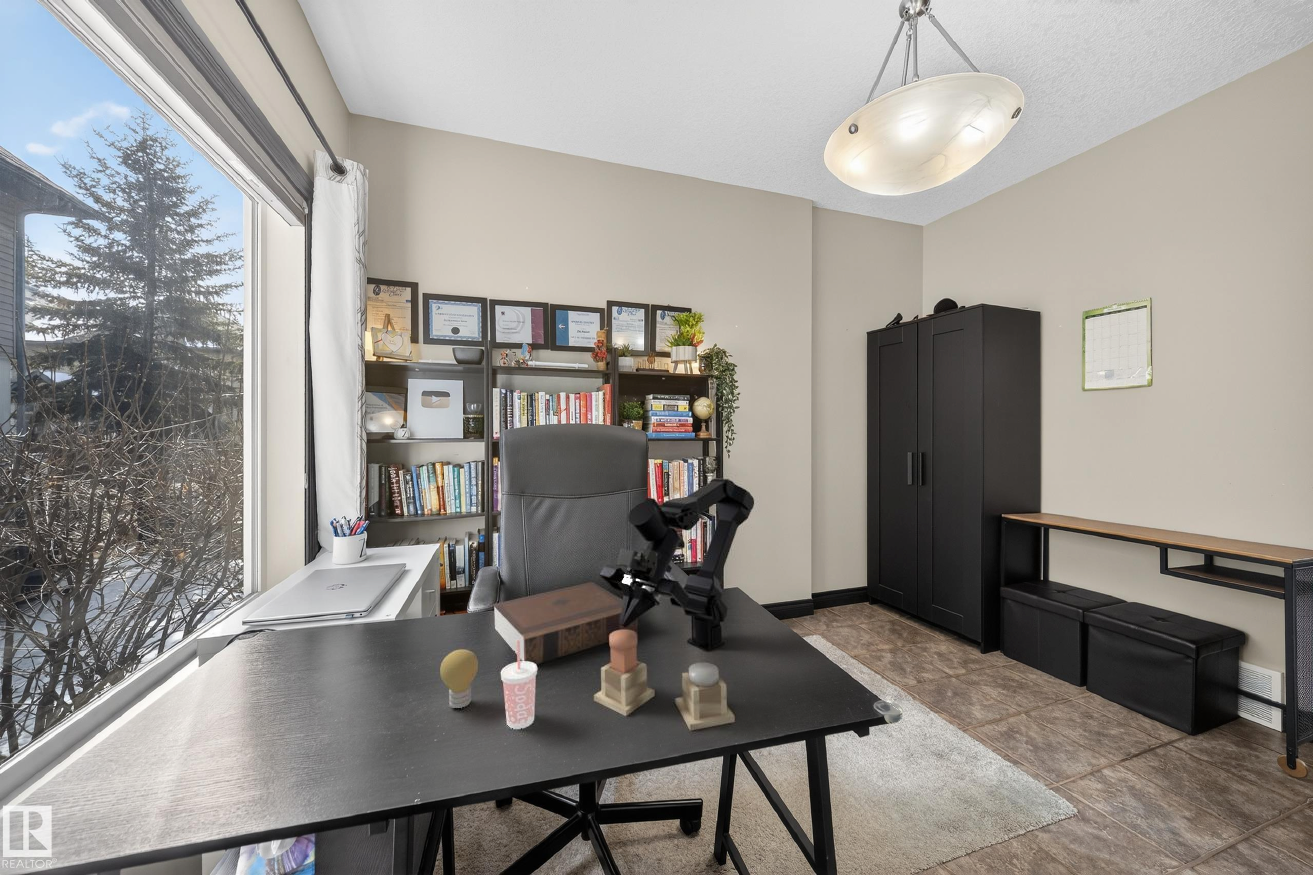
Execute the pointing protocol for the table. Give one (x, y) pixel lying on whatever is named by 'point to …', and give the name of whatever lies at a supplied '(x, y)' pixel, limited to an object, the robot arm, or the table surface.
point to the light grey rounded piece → (703, 674)
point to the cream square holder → (624, 689)
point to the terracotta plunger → (623, 650)
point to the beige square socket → (704, 704)
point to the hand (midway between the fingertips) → (622, 626)
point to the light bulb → (459, 676)
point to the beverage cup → (519, 692)
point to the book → (560, 621)
